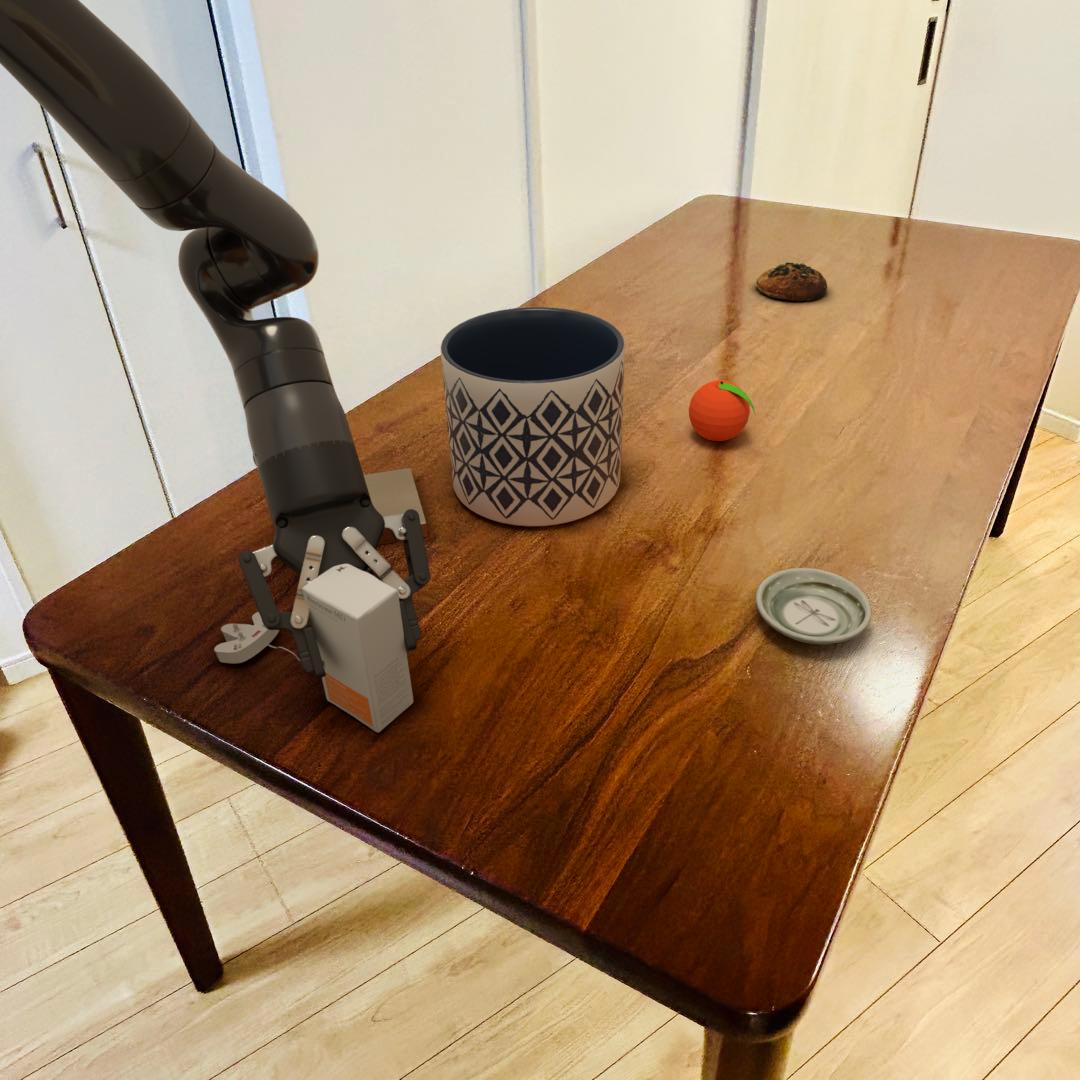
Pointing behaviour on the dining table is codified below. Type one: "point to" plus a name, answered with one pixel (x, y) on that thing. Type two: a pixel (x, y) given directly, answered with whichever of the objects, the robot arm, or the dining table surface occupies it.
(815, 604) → the saucer
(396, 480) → the keypad
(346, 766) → the dining table surface
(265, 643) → the game controller
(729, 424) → the clementine
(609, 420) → the planter
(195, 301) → the robot arm
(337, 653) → the cosmetic box
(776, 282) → the bread roll
